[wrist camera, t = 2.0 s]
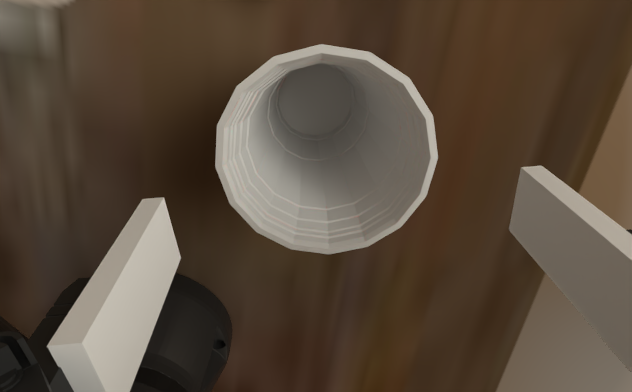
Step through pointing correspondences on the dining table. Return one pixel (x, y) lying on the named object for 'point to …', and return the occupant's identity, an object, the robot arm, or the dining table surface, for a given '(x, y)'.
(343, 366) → the dining table surface
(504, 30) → the dining table surface
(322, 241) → the plastic cup
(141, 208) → the robot arm
